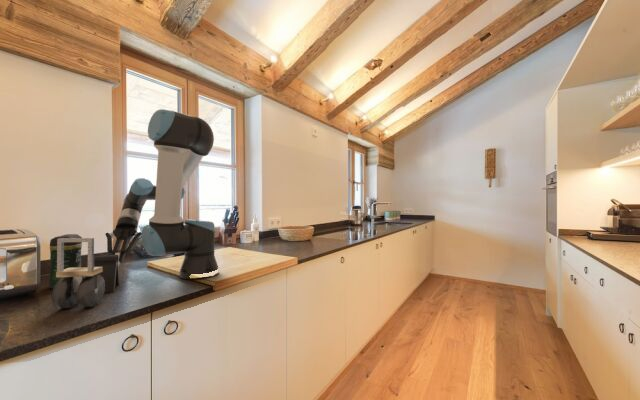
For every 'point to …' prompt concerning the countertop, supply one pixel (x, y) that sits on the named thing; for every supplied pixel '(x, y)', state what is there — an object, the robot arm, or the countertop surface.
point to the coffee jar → (70, 256)
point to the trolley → (77, 281)
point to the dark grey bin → (109, 271)
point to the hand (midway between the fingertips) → (114, 269)
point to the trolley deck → (79, 272)
